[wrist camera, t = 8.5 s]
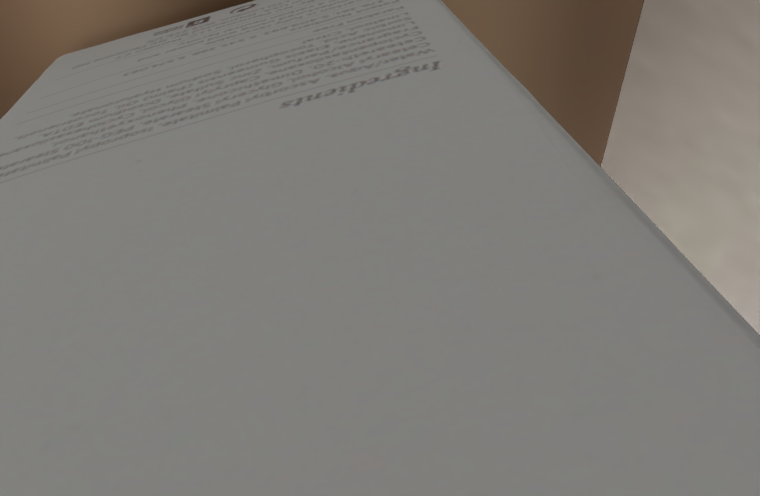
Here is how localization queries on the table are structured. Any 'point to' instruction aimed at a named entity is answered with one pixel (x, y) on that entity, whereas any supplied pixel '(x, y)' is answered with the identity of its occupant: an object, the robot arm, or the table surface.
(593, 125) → the walnut slab
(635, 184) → the table surface
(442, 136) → the small box
